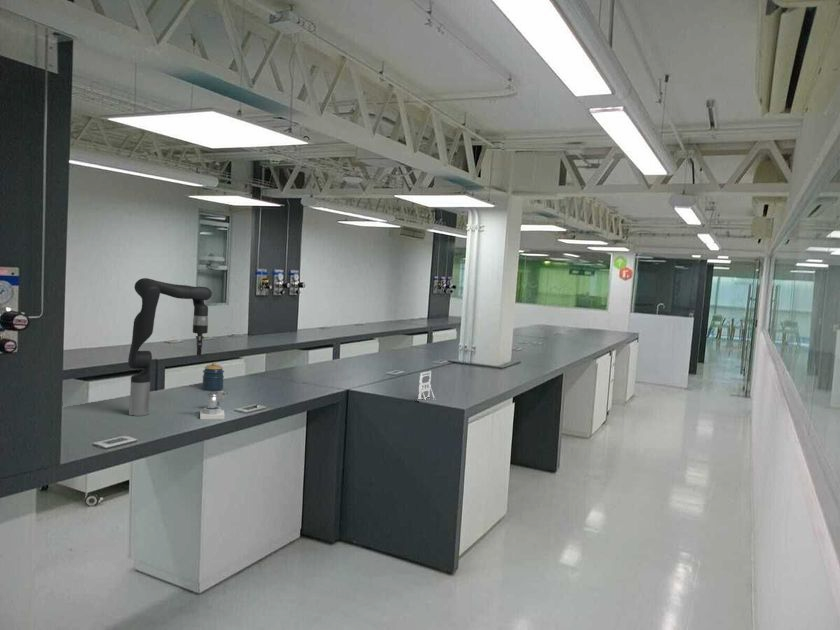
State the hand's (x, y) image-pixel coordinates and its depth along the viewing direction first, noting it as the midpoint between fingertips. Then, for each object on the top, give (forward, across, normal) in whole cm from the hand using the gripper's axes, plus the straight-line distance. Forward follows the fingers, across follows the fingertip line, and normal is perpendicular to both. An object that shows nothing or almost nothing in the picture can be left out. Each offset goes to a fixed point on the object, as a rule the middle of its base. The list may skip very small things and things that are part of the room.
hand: (199, 354), depth 324 cm
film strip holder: (+32, +26, -139) cm, 145 cm away
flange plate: (+32, -7, -8) cm, 34 cm away
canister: (+32, +67, -9) cm, 75 cm away
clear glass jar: (+30, -7, -8) cm, 32 cm away
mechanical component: (+32, +9, -11) cm, 35 cm away
